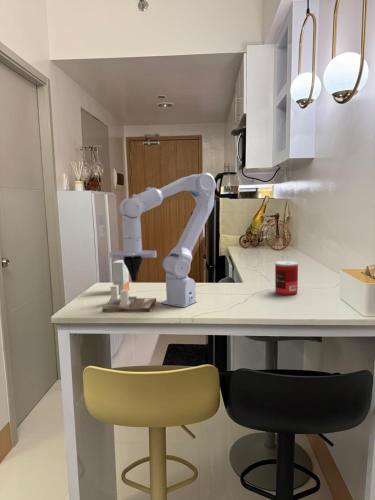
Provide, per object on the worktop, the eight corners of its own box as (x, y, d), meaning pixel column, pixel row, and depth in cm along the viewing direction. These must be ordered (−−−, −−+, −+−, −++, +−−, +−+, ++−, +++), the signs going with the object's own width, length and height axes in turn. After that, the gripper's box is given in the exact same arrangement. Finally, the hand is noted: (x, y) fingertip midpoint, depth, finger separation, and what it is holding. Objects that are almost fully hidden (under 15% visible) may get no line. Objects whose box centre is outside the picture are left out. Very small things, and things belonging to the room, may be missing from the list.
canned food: (299, 290, 133) (299, 261, 132) (295, 296, 126) (296, 265, 125) (277, 289, 137) (277, 260, 135) (273, 294, 129) (273, 264, 128)
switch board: (156, 301, 126) (156, 295, 126) (149, 311, 114) (149, 306, 114) (113, 301, 127) (113, 296, 127) (102, 312, 115) (102, 306, 115)
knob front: (130, 303, 119) (129, 289, 118) (128, 306, 116) (127, 291, 115) (121, 303, 119) (121, 289, 118) (119, 306, 116) (118, 291, 115)
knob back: (120, 298, 125) (119, 284, 125) (118, 300, 123) (117, 286, 122) (112, 298, 126) (111, 284, 125) (110, 300, 123) (109, 286, 122)
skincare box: (124, 294, 136) (122, 262, 134) (113, 294, 137) (111, 262, 135) (130, 290, 142) (128, 259, 140) (119, 290, 143) (117, 259, 141)
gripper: (105, 239, 111) (108, 283, 113) (152, 238, 109) (154, 283, 111) (112, 236, 118) (114, 278, 120) (156, 235, 116) (158, 277, 118)
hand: (134, 280), depth 116 cm, fingers closed
